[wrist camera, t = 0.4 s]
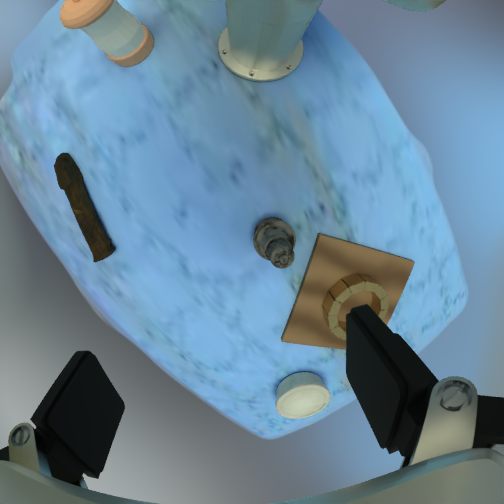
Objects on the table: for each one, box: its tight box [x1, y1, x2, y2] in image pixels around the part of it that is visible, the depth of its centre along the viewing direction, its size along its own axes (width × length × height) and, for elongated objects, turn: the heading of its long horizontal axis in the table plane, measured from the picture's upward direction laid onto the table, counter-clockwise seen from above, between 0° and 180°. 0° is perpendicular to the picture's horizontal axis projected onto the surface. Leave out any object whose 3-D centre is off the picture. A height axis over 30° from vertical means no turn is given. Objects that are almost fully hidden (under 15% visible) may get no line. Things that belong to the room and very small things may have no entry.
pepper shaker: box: [60, 0, 154, 67], centre depth 21 cm, size 7×7×19 cm
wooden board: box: [281, 233, 415, 349], centre depth 45 cm, size 20×20×1 cm
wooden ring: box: [322, 273, 388, 340], centre depth 43 cm, size 11×11×4 cm
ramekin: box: [276, 372, 330, 419], centre depth 49 cm, size 11×11×5 cm
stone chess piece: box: [254, 217, 296, 268], centre depth 35 cm, size 6×6×12 cm
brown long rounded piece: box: [54, 153, 115, 262], centre depth 36 cm, size 19×4×5 cm, turn 19°
